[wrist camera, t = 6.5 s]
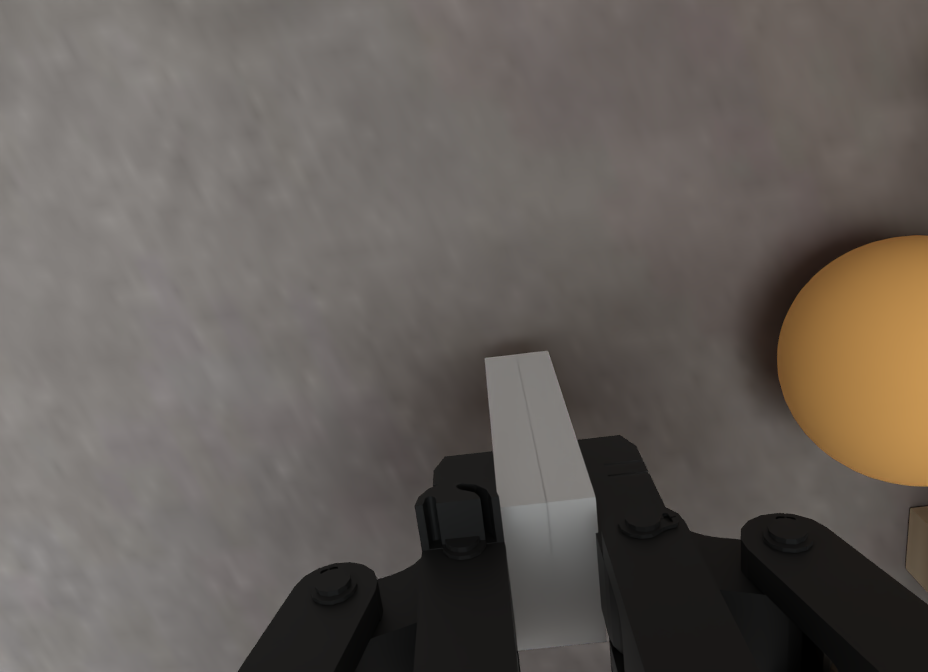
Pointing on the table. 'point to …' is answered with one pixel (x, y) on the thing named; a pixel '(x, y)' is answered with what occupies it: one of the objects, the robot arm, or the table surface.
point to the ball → (863, 359)
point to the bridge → (918, 545)
